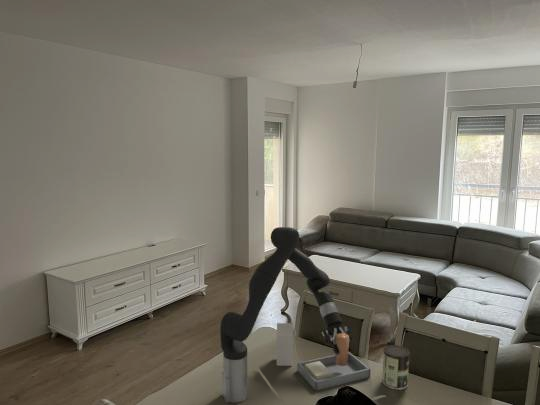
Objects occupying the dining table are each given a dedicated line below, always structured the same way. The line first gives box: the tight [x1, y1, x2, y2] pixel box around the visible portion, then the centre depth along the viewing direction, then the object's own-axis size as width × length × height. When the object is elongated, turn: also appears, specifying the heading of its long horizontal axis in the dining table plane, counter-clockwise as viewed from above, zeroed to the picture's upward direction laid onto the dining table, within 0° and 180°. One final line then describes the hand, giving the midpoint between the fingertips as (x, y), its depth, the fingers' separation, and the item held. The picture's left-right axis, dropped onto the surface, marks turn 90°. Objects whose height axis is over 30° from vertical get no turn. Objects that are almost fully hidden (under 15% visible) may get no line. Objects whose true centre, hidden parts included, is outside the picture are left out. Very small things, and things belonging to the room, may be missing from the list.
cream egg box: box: [305, 361, 332, 381], centre depth 172 cm, size 7×10×4 cm
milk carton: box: [276, 322, 294, 367], centre depth 184 cm, size 7×7×19 cm
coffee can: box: [382, 344, 411, 390], centre depth 170 cm, size 10×10×14 cm
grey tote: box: [297, 352, 371, 392], centre depth 175 cm, size 26×16×4 cm, turn 113°
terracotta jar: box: [334, 332, 349, 366], centre depth 175 cm, size 6×6×12 cm
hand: (344, 352), depth 174 cm, fingers closed on terracotta jar, 5 cm apart
